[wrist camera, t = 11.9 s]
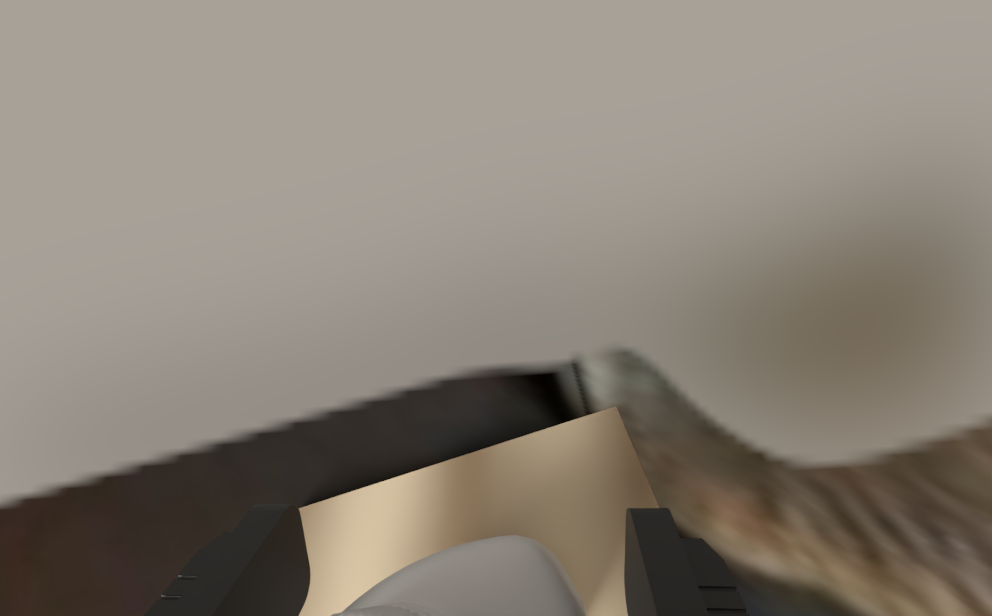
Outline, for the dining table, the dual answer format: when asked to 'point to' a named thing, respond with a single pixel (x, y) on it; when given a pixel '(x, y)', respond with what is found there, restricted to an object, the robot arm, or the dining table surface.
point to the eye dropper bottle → (476, 583)
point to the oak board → (489, 513)
